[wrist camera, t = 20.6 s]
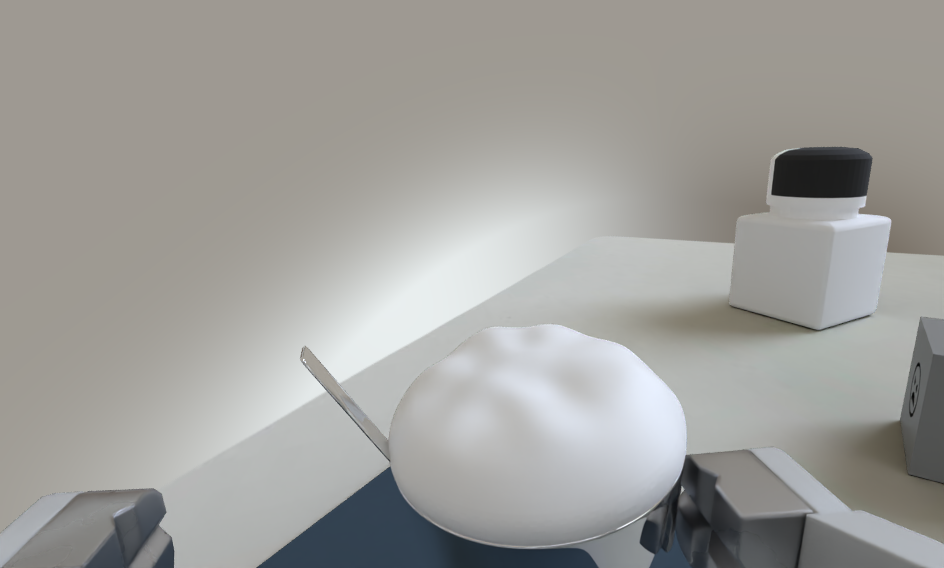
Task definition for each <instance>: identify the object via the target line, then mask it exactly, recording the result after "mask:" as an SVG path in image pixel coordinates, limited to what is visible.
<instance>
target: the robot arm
mask: <svg viewBox="0 0 944 568" xmlns="http://www.w3.org/2000/svg"><path fill="white" fill-rule="evenodd" d="M682 486H683V488H684V489H685V490H684V491H683V492H682V494H681V495H680V500H679V507H678V514H677V521H676V529H675V530H676V535H677V540H678V542H679V545H680V547H681V550H682V553H683V554H684V556H685V558H686V559H687V561H688V563H689V565H690V566H691V567H693V568H944V543H941V542H939V541H936V540H934V539H931V538H929V537H927V536H924V535H922V534H919V533H917V532H914V531H912V530H910V529H907V528H905V527H902V526H900V525H897V524H895V523H893V522H890V521H888V520H885V519H883V518H880V517H878V516H876V515H873V514H871V513H868V512H866V511H863V510H860V511H852V510H851V509H850V508H849V507H847V506H846V505H845V504H844V503H843V502H842V501H841V500H839V499H838V498H837V497H836V496H835V495H834V494H832V493H831V492H830V491H829V490H828V489H827V488H826V487H824V486H823V485H822V484H821V483H820V482H819V481H818V480H816V479H815V478H814V477H813V476H812V475H811V474H809V473H808V472H807V471H806V470H805V469H804V468H803V467H801V466H800V465H799V464H798V463H797V462H796V461H794V460H793V459H792V458H791V457H790V456H789V455H788V454H786V453H785V452H784V451H783V450H781V449H778V448H776V447H763V448H753V449H743V450H738V451H726V452H714V453H702V454H690V455H685V465H684V472H683V479H682ZM165 514H166V509H165V505H164V501H163V497H162V494H161V493H160V492H158V491H157V490H155V489H154V488H151V489H131V490H130V489H129V490H105V491H88V492H67V493H54V494H50V495H46V496H43V497H41V498H40V499H38V500H37V501H36V502H35V503H34V504H33V505H32V506H30V507H29V508H28V509H27V510H26V511H25V512H24V513H23V514H21V515H20V516H19V517H18V518H17V519H16V520H14V521H13V522H12V523H11V524H10V525H9V526H8V527H6V528H5V529H4V530H3V531H2V532H1V533H0V568H174V547H173V542H172V537H171V536H170V535H169V534H167V533H166V532H165V531H164V530H163V529H162V528H161V527H160V526H159V524H160V522H161V521H162V519H163V517H164V516H165Z"/></svg>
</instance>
